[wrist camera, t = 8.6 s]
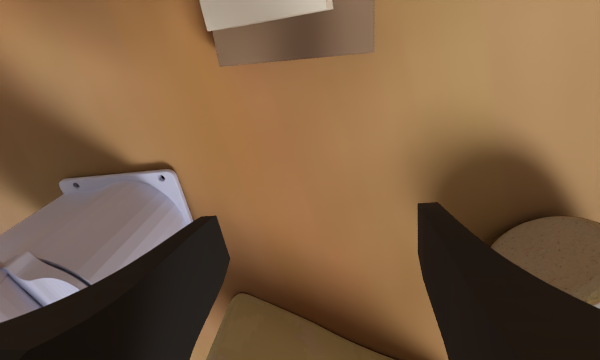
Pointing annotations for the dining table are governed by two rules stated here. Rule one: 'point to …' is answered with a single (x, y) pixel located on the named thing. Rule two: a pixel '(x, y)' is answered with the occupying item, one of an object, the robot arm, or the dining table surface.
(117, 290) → the robot arm
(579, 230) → the ceramic mug
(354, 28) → the walnut base
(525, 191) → the dining table surface
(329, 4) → the cream cube
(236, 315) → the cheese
